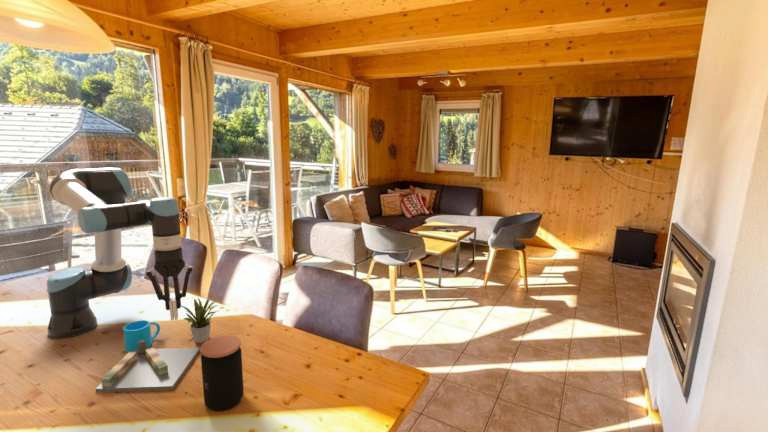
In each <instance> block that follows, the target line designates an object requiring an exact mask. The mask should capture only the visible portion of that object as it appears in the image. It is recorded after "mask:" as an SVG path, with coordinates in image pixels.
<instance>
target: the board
mask: <svg viewBox="0 0 768 432" xmlns="http://www.w3.org/2000/svg"><path fill="white" fill-rule="evenodd" d="M200 348H201V347H176V348H169V347H168V348H155V350H156V351H157V352H158V354H159V355H160V356H161V357H162V359H163V360H164V361H165V363H166V364H167V365H168V373H165V374H163V375H160V376H159V374H158V373H157V371H156V370H155V368H154V367H153V366H152V364H151V363H150V361H149V360H148V358H147V357H146V356H144V357H137V360H136V361H135V362H134V363H133V364H132V365H131V366H130V367H129V368H128V369H127V370H126V371H125V372H124V373H123V374H122V375H121V376H120V377H119V378H118V379H117V381H116V382H115V383H114V384H113V385H112V386H106V387H102V382H101V383H100V384H99V385H98V386H97V387H96V388H95V393H117V392H120V393H121V392H143V391H145V392H147V391H150V392H151V391H173V390H174V389H175V387H176V386H177V385H178V383H179V381H180V380H181V379H182V378H183V376H184V375H185V373H186V371H187V370H188V369H189V367H190V366H191V364H192V363H193V362H194V360H195V359H196V357H197V356H198V354H199V353H201V350H200ZM133 352H138V349H135V350H134V351H133Z"/></svg>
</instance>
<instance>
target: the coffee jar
mask: <svg viewBox="0 0 768 432" xmlns="http://www.w3.org/2000/svg"><path fill="white" fill-rule="evenodd" d="M241 345H242V343H241V339H240V338H239V337H237V336H234V335H227V334H226V335H219V336H215V337H212V338H209V339H208V340H207V341H205V342H202V343H201V347H199V348H200V354H201V355H200V365H201V366H200V367H201V374H202V375H201V377H202V379H201V380H202V390H203V400H204V401H203V402H204V406H206V407H207V408H208V409H209V410H210V411H213V412H225V411H229V410H232V409H233V408H234V407H236V406H237V405H238V404H240V402H241V400H242V399H243V397H244V378H243V377H244V376H243V375H244V374H243V358H242V357H243V355H242V348H241Z"/></svg>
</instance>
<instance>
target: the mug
mask: <svg viewBox="0 0 768 432" xmlns="http://www.w3.org/2000/svg"><path fill="white" fill-rule="evenodd" d="M151 325H152V326H153V325H154V326H155V327H156V331H155V333H154V335H152V331H151ZM122 329H123V336H124V337H123V338H124V345H125V351H126V352H133V351H134V350H135V349H138V341H141V340H145V341H146V349H149V348H151V346H152V344H153V340H154V339H155V338H156V337H157V336H158V335H159V333H160V331H161V326H160V324H158V323H157V322H154V321H151V322H150V321H148V320H141V319H140V320H136V321H135V320H134V321H132V322H128V323H127V324H125V325H124V326H123V327H122Z"/></svg>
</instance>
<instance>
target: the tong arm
mask: <svg viewBox="0 0 768 432" xmlns="http://www.w3.org/2000/svg"><path fill="white" fill-rule="evenodd" d="M155 349H156V348H155V347H154V346H153V347H148V348H147V349H146V350H145V351H146V357H147V358H148V360H149V361H150V363H151V364H152V366H153V367H154V368H155V370H156V371H157V373H158V374H159V376H160V375H163V374H165V373H168V365H167V364H166V363H165V361H164V360H163V359H162V357H161V356H160V355H159V354H158V352H157V351H156V350H155Z"/></svg>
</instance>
